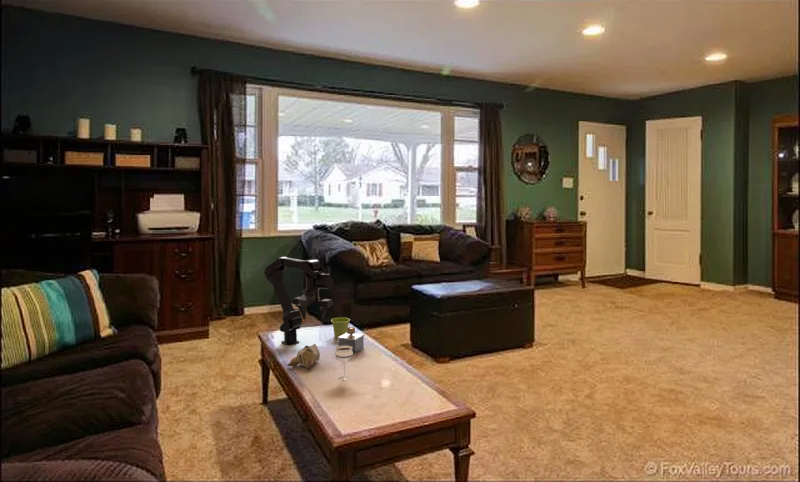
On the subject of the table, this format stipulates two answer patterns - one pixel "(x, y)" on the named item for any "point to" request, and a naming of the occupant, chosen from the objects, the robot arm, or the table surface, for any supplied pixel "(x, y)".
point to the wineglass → (344, 357)
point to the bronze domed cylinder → (351, 330)
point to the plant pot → (340, 326)
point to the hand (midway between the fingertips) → (313, 320)
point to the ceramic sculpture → (306, 357)
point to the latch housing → (352, 341)
